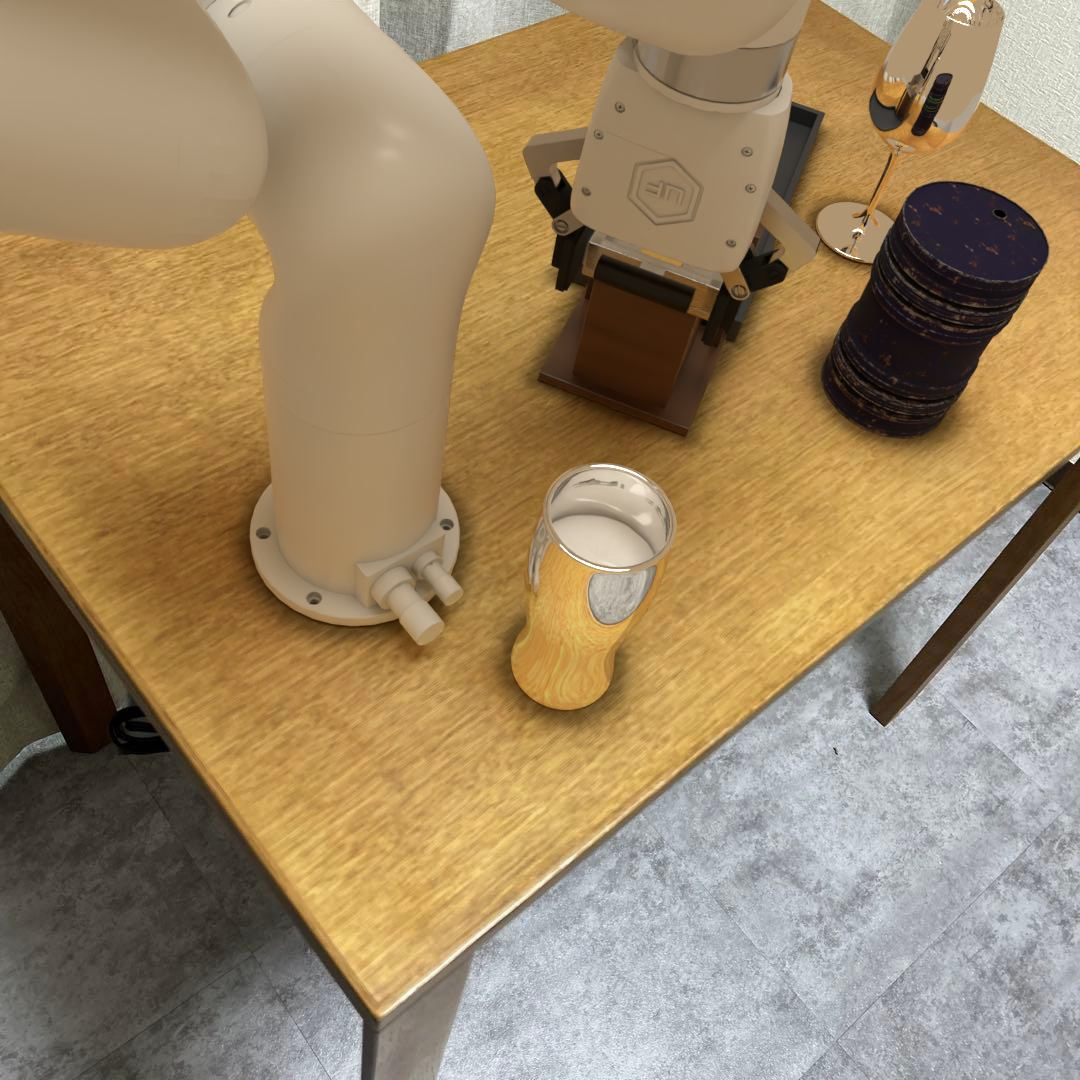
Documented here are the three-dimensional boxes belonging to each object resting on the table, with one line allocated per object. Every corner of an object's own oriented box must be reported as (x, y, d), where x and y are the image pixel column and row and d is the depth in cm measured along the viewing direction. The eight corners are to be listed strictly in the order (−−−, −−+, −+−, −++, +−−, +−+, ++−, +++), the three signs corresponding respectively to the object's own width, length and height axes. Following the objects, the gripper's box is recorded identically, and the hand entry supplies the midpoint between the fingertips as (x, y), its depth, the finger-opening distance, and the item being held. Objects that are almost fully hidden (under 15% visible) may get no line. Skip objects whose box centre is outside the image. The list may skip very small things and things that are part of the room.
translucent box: (695, 351, 68) (712, 307, 65) (565, 303, 68) (575, 256, 65) (753, 217, 76) (769, 171, 73) (636, 174, 77) (647, 128, 74)
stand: (686, 437, 77) (730, 321, 68) (537, 380, 78) (562, 259, 69) (724, 341, 83) (770, 224, 74) (586, 289, 84) (614, 168, 75)
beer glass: (609, 731, 63) (671, 591, 51) (491, 701, 63) (525, 554, 51) (628, 629, 67) (689, 477, 55) (516, 601, 67) (554, 443, 55)
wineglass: (899, 212, 95) (1012, -14, 79) (908, 273, 91) (1030, 46, 75) (811, 196, 95) (907, -35, 79) (815, 256, 90) (918, 24, 74)
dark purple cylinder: (896, 461, 79) (996, 305, 66) (793, 376, 82) (870, 213, 70) (973, 400, 83) (1079, 244, 71) (872, 322, 87) (957, 161, 75)
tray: (734, 342, 83) (742, 322, 82) (559, 277, 85) (563, 256, 83) (817, 132, 101) (825, 112, 99) (671, 80, 102) (676, 60, 100)
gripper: (520, 19, 52) (485, 292, 66) (872, 141, 51) (759, 395, 64) (574, -50, 57) (530, 220, 71) (899, 60, 55) (787, 315, 69)
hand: (639, 303), depth 67 cm, fingers open, 9 cm apart
